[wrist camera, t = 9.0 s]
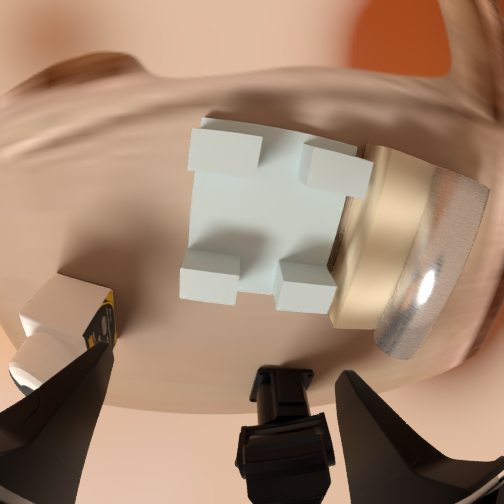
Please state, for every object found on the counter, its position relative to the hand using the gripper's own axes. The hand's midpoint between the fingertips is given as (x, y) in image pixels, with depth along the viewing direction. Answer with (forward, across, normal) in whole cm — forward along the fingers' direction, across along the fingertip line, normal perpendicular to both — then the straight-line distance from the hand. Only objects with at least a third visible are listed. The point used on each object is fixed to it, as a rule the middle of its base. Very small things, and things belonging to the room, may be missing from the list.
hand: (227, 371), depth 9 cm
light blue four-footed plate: (+13, -2, -2) cm, 13 cm away
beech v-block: (+13, -14, -2) cm, 19 cm away
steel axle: (+7, -14, -2) cm, 16 cm away
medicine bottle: (+13, +14, +10) cm, 22 cm away
